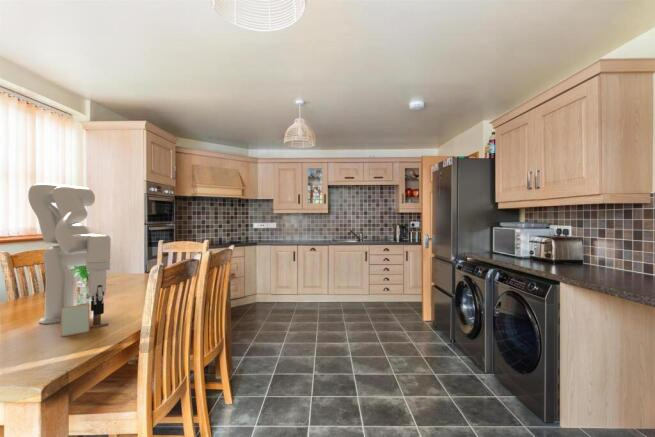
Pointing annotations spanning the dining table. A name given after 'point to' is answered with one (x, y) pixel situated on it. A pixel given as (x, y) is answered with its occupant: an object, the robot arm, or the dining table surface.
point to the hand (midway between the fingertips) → (97, 311)
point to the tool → (97, 321)
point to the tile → (74, 320)
